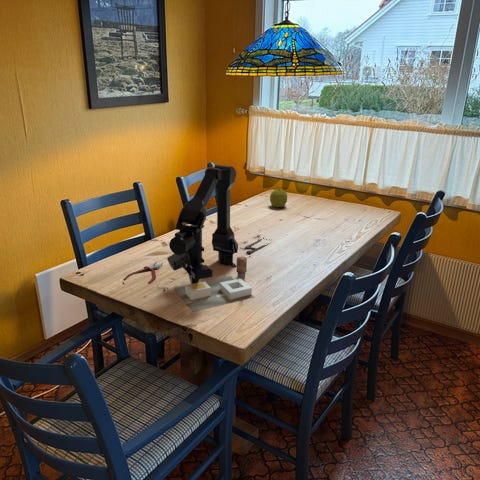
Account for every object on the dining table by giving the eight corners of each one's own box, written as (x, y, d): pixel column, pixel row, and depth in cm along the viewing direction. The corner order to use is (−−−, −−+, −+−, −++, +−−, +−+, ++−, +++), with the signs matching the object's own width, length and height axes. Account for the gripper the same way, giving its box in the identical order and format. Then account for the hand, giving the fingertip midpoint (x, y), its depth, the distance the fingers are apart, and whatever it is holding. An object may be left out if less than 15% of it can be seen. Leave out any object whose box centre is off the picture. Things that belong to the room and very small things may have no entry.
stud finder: (185, 293, 147) (185, 284, 146) (204, 289, 150) (204, 280, 149) (190, 299, 143) (190, 291, 142) (210, 295, 146) (210, 287, 145)
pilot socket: (219, 289, 151) (219, 282, 150) (240, 284, 154) (240, 278, 153) (230, 299, 144) (230, 292, 143) (251, 294, 148) (251, 287, 147)
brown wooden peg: (234, 280, 161) (234, 257, 158) (243, 278, 162) (243, 255, 159) (239, 284, 158) (239, 261, 155) (247, 282, 160) (248, 259, 156)
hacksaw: (249, 256, 183) (249, 252, 183) (229, 250, 189) (229, 246, 188) (279, 239, 202) (279, 236, 201) (260, 234, 207) (260, 231, 206)
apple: (278, 203, 255) (279, 185, 251) (290, 207, 248) (291, 188, 244) (265, 206, 249) (266, 187, 245) (277, 210, 242) (278, 191, 238)
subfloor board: (172, 291, 152) (172, 287, 151) (230, 279, 161) (230, 275, 161) (192, 316, 137) (192, 311, 136) (254, 301, 147) (254, 297, 146)
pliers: (173, 266, 172) (173, 260, 171) (151, 290, 154) (150, 283, 153) (146, 263, 174) (146, 257, 173) (121, 285, 156) (120, 279, 155)
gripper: (160, 238, 148) (162, 280, 154) (179, 258, 133) (180, 304, 138) (191, 233, 153) (192, 274, 159) (213, 252, 138) (213, 297, 143)
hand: (193, 286), depth 149 cm, fingers closed
